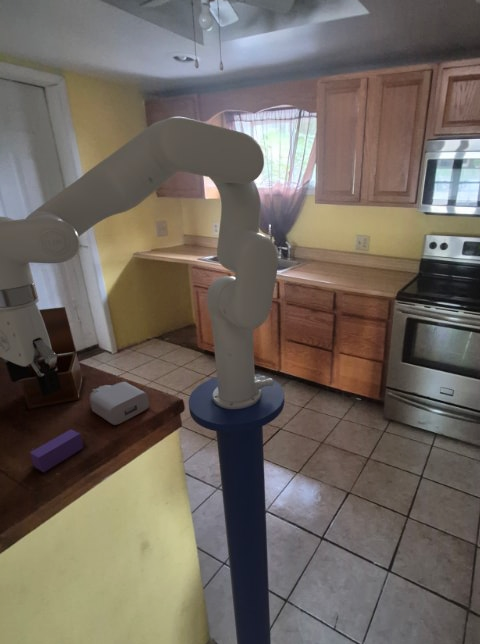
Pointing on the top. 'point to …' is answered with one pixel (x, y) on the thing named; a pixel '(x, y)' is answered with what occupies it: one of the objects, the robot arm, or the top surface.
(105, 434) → the top surface
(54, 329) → the lid
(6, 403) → the top surface
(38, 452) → the purple rectangular block
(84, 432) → the top surface
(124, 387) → the charger
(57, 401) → the chest
